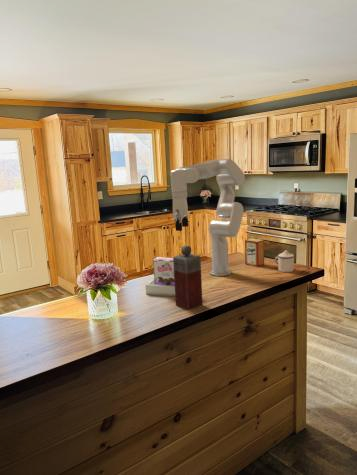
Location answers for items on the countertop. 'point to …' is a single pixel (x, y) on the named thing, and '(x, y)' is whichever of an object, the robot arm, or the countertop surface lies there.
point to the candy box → (163, 271)
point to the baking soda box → (254, 252)
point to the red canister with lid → (187, 279)
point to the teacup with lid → (285, 262)
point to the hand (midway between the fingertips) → (182, 228)
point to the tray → (159, 289)
